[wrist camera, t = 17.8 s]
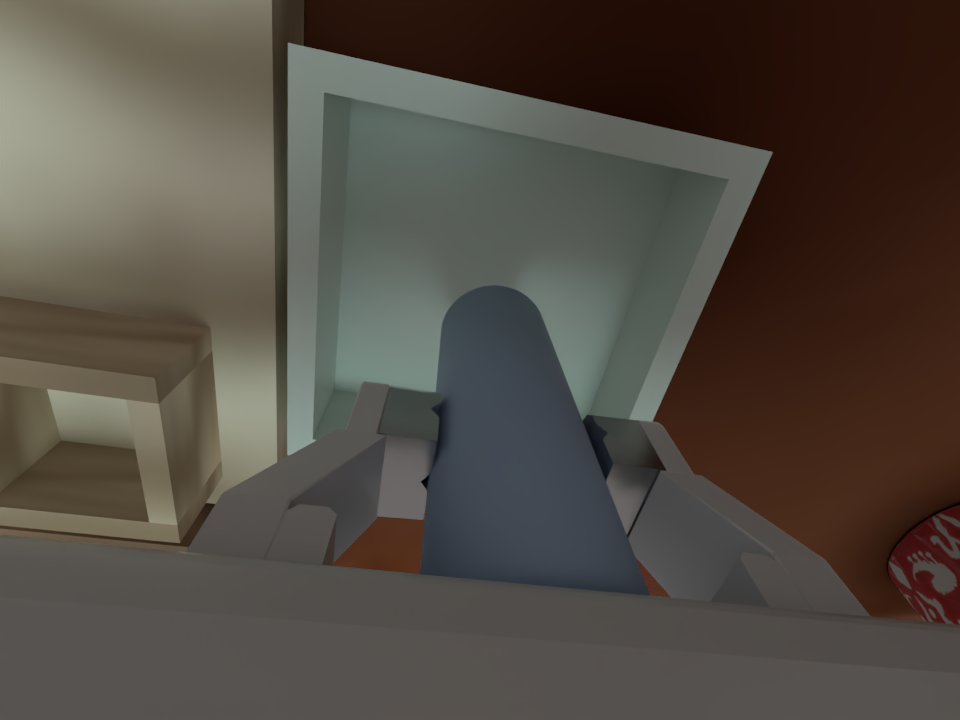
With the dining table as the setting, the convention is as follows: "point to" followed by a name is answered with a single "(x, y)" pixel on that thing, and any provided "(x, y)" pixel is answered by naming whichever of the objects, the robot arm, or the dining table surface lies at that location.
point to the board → (141, 258)
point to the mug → (931, 567)
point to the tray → (491, 233)
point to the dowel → (516, 460)
